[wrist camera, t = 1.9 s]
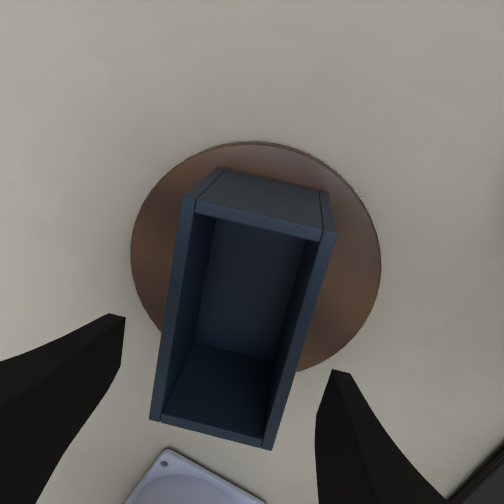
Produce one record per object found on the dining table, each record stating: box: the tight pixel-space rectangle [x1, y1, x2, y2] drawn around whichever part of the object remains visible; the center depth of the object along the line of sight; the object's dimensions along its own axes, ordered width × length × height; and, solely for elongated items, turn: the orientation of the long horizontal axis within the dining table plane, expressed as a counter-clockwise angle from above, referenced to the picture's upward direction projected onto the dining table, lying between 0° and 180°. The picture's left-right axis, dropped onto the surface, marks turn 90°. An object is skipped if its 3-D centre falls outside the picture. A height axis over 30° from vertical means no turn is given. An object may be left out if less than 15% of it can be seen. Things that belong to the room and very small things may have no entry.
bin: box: [149, 167, 337, 451], centre depth 19 cm, size 11×5×6 cm, turn 168°
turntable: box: [131, 142, 381, 372], centre depth 22 cm, size 13×13×1 cm
